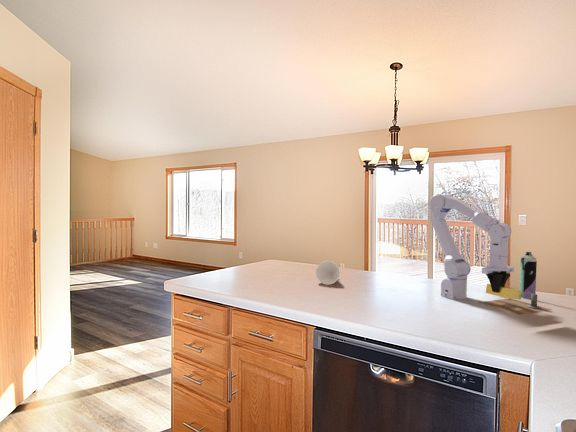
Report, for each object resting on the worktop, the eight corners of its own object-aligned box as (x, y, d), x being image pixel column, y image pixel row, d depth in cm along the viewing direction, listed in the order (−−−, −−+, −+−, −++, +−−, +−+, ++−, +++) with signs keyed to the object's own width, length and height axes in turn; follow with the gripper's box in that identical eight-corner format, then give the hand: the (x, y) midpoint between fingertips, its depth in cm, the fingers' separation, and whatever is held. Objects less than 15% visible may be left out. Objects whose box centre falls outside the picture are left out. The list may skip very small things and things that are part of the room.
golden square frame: (505, 298, 124) (507, 288, 124) (485, 292, 132) (486, 283, 132) (520, 299, 127) (521, 290, 127) (500, 294, 135) (501, 285, 135)
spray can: (530, 302, 138) (532, 253, 138) (516, 299, 143) (517, 251, 143) (538, 301, 141) (539, 252, 140) (523, 297, 146) (525, 250, 145)
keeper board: (518, 317, 118) (519, 300, 118) (477, 305, 133) (478, 289, 133) (552, 312, 125) (553, 296, 125) (509, 301, 140) (510, 286, 139)
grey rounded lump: (333, 258, 184) (327, 255, 167) (348, 273, 180) (344, 272, 163) (318, 274, 185) (311, 272, 168) (333, 289, 181) (328, 289, 164)
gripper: (494, 257, 121) (493, 296, 122) (522, 256, 127) (521, 292, 127) (477, 255, 128) (475, 291, 128) (504, 253, 133) (502, 288, 134)
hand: (497, 291), depth 128 cm, fingers closed on golden square frame
